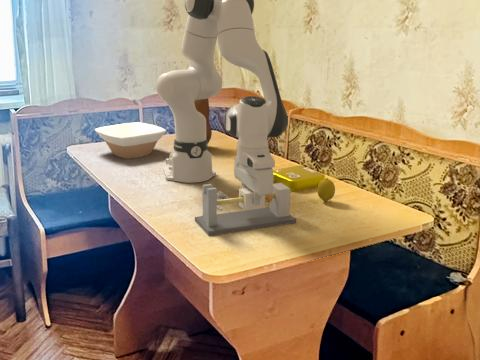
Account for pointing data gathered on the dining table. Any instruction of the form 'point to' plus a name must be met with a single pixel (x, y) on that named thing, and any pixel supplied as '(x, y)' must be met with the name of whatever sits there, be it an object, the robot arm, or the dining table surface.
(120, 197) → the dining table surface
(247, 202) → the sleeve
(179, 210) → the dining table surface
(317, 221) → the dining table surface
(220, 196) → the pliers
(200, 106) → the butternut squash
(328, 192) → the lemon
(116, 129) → the bowl
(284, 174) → the element tile
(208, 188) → the cord rig
